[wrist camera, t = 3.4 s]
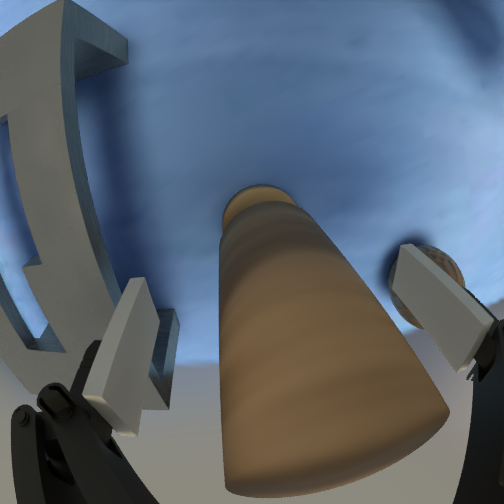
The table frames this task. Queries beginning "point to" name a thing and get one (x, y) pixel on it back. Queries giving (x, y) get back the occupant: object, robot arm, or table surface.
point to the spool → (308, 359)
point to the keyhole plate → (63, 202)
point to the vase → (438, 258)
